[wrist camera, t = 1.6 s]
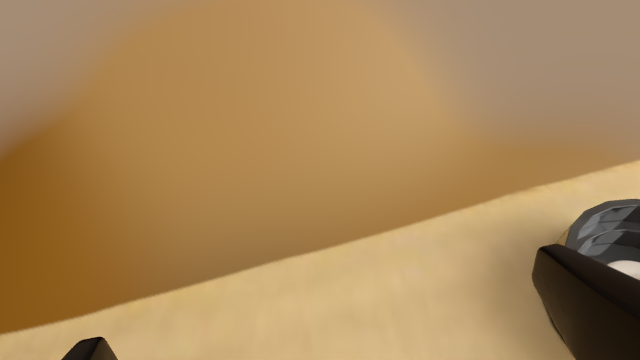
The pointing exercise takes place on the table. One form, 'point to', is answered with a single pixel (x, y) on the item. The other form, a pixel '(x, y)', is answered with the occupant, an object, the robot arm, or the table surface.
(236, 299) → the table surface
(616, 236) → the charcoal bowl
